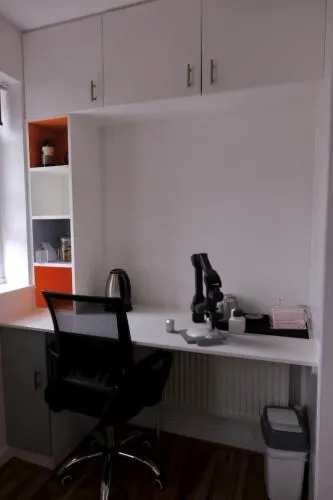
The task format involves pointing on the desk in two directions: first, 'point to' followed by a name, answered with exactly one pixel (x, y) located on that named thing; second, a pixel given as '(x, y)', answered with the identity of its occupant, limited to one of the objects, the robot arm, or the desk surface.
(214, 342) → the scale
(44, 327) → the desk surface
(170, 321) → the cylinder
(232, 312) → the medicine bottle
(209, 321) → the cylinder
